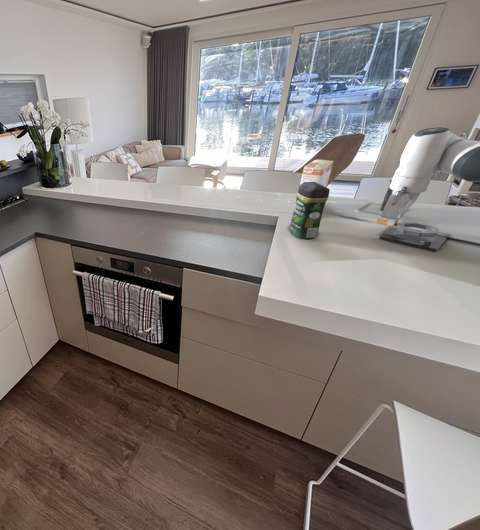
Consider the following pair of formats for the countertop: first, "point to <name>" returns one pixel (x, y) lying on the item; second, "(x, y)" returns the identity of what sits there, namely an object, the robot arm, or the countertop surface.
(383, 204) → the post
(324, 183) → the coffeecake box
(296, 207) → the coffee jar
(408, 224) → the steel loop
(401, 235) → the hob plate
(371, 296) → the countertop surface
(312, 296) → the countertop surface
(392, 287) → the countertop surface
